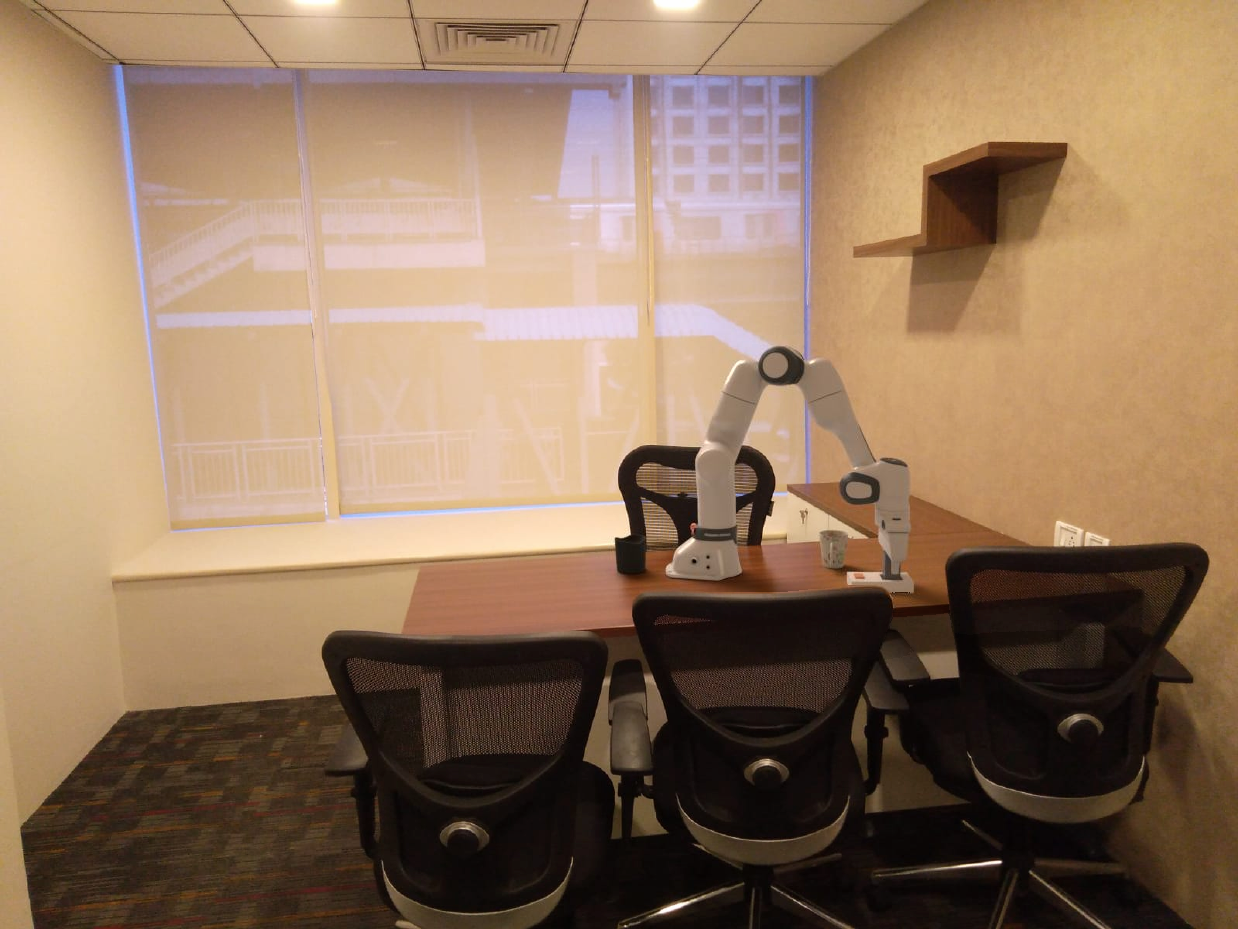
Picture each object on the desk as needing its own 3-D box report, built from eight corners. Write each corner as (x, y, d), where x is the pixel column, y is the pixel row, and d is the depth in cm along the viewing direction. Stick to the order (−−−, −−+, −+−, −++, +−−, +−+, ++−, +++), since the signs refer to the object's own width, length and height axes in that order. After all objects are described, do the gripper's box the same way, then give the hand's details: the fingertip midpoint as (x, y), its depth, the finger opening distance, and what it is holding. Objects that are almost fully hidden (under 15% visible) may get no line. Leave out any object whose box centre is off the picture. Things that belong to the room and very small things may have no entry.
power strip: (851, 592, 216) (851, 579, 215) (846, 582, 224) (847, 570, 224) (913, 593, 213) (914, 580, 213) (906, 582, 222) (906, 570, 222)
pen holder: (643, 575, 238) (642, 542, 236) (612, 574, 240) (611, 541, 238) (649, 566, 247) (648, 534, 245) (619, 565, 249) (618, 534, 247)
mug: (847, 562, 244) (848, 530, 242) (847, 574, 232) (848, 540, 230) (819, 561, 246) (819, 529, 244) (818, 573, 234) (818, 539, 232)
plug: (884, 590, 217) (885, 554, 215) (881, 585, 221) (882, 550, 219) (900, 590, 216) (900, 554, 215) (897, 585, 220) (897, 550, 219)
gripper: (873, 510, 226) (872, 558, 228) (887, 527, 206) (886, 579, 208) (896, 510, 225) (895, 558, 227) (912, 527, 205) (911, 579, 207)
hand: (891, 568), depth 218 cm, fingers open, 8 cm apart
